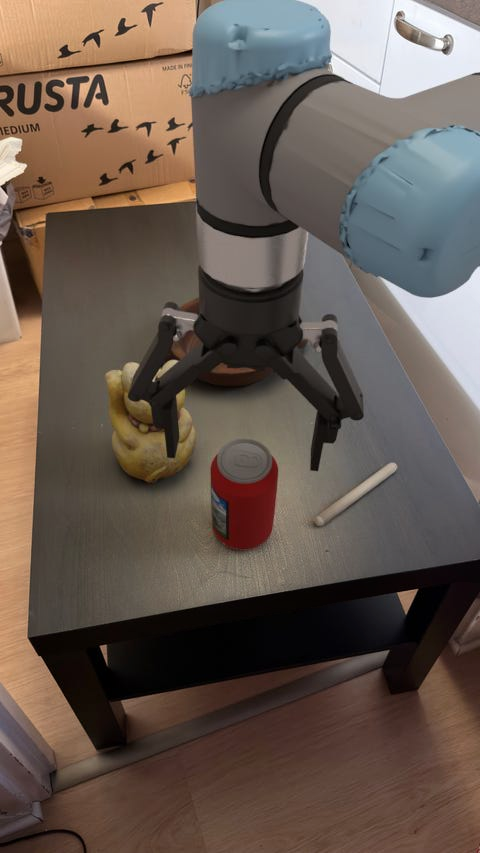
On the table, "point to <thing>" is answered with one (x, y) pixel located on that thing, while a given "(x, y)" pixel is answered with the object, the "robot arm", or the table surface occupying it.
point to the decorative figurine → (145, 429)
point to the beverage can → (243, 493)
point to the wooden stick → (355, 494)
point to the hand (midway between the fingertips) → (243, 453)
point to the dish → (221, 372)
